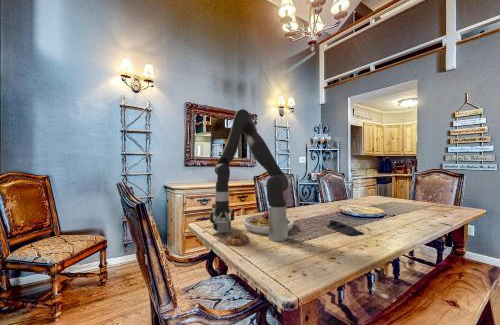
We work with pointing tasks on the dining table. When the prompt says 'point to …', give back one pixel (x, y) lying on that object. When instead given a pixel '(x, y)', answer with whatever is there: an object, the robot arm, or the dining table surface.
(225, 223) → the matte grey box
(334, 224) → the dark slate chunk
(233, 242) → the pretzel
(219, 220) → the coffee can
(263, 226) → the bowl
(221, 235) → the brown base with peg
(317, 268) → the dining table surface
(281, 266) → the dining table surface
